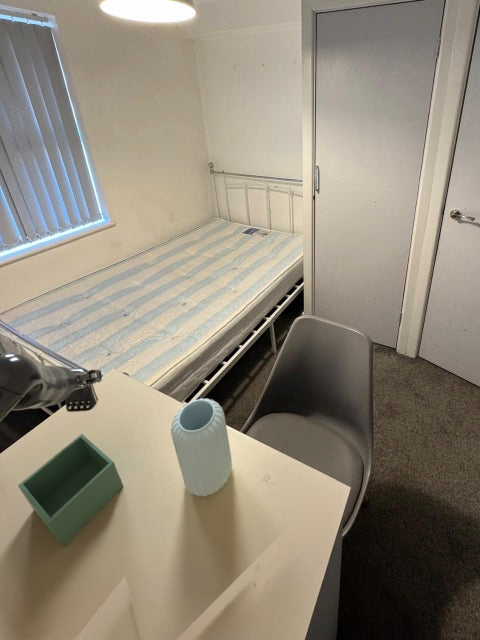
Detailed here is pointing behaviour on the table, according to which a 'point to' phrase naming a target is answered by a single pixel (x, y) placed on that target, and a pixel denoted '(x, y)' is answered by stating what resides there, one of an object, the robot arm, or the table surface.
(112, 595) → the table surface
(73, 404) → the battery charger
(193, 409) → the vase
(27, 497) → the bin
